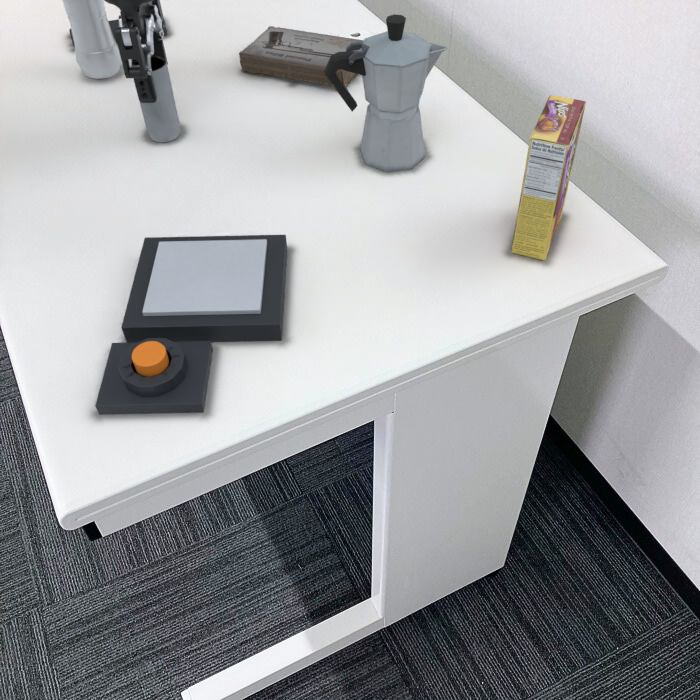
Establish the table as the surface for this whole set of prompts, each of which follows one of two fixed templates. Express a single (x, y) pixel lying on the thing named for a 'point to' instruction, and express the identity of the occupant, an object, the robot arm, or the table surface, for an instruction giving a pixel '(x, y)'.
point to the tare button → (150, 358)
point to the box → (295, 55)
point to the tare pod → (156, 380)
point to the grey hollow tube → (161, 105)
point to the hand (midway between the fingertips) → (154, 84)
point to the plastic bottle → (93, 38)
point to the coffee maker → (389, 92)
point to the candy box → (547, 176)
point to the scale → (208, 289)
